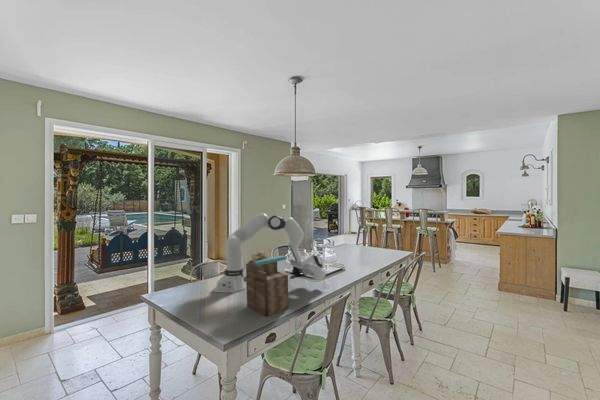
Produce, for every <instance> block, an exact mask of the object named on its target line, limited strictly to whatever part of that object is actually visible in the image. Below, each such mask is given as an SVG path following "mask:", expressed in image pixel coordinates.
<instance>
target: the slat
mask: <svg viewBox="0 0 600 400" xmlns="http://www.w3.org/2000/svg"><path fill="white" fill-rule="evenodd" d="M285 260H287V255H278V256H273V257H268V258H267V259H263V260H258V261H254V265H257V266H259V265H263V264H268V263H273V262H277V263H278V262H281V261H285Z"/></svg>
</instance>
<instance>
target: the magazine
mask: <svg viewBox="0 0 600 400" xmlns="http://www.w3.org/2000/svg"><path fill="white" fill-rule="evenodd" d="M322 267H323V268H324V266H323V264H322ZM300 273H301V272H300V271H299V269H298V268H297V267H294V266H293V267H292V271H291V275H292V276H296V275H297V276H299V275H300Z"/></svg>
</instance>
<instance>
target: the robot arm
mask: <svg viewBox="0 0 600 400" xmlns="http://www.w3.org/2000/svg"><path fill="white" fill-rule="evenodd" d="M265 228H269V229H270V230H271V231H273V232H278V231H280V230H283V231H284V232H285V233H286V236H287V237H288V239H289V249H290V251H291V253H292V256H293V257H294V259H289V265H290V266H294V267H297V268H298V269H299V271H300V272H301V273H303V275H306V276H308V277H311V278H312V279H314V280H318V281H322V280H323V279H324V278H325V277H326V274H327V273H326V272H327V271H325V269H324V266H323V267H322V265H323V260H322V257H321V256H320V255H319V254H317V253H313V254H311V255H309V256H308V257H305V259H304V258H303V257H302V254H301V252H300V251H299V246H300V245H301V243H302V242H303V240H304V237H305V233H304V231H303V229H302V228H301V226H300V225H299V223H298V222H297V221H296V220H295V219H294V218H293V217H287V218H284V217H281V216H279V215H276V214H275V215H272V216H268V215H267V214H266V213H264V212H260V213H258V214H257V215H255V216H253V217H252V218H251V219H250V220H248V221H247V222H246V223H244V225H242V226H241V227H239V228H237V229H236V230H235V231H234V232H232V233H231V234H230V235H228V237H227V238H226V241H225V249H226V250H225V251H226V268H225V269H224V270H223V273H224V275H222V276H221V277H220V278H219V279H218V280H217V282H216V285H215V286H214V288H213V289H212V291H213V293H230V294H232V293H236V292H240V291H243V290H244V289H247V286H246V284H245V281H244V280H245V279H244V276H245V274H244V272H245V271H244V268H243V266H244V265H243V262H244V261H243V245H244V244H245V243H246V242H248V241H250V240H251V239H253V238H254V237H255V236H256V235H257V234H259V233H260V232H261V231H262V230H264V229H265Z"/></svg>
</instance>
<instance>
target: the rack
mask: <svg viewBox="0 0 600 400" xmlns="http://www.w3.org/2000/svg"><path fill="white" fill-rule="evenodd" d="M263 259H267V256H266V251H260V250H259V251H255V252H251V260H252V263H246V264H245V268H246V269H245V274H246V275H245V276H246V307H248V308H249V309H251V310H253V311H256V312H257V313H259V314H261V315H263V316H265V317H268V316H270V315H273V314H277V313H279V312H282V311H284V310H288V309H289V305H290V304H289V274H287V273H284V272H281V271H278V261H277V262H273V263H268V264H263V265H259V266H257V265H254V261H258V260H263Z"/></svg>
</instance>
